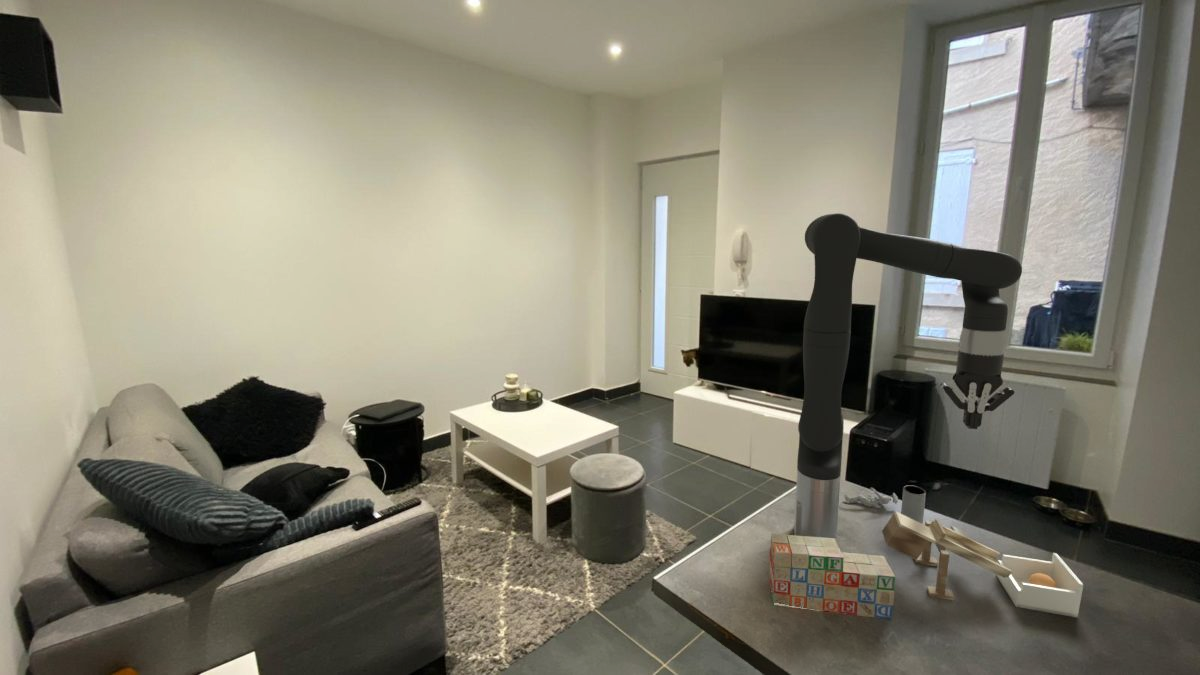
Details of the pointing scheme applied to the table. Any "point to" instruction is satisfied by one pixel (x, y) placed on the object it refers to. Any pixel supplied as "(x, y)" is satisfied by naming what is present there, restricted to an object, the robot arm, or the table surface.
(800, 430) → the robot arm
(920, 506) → the planter
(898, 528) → the lever
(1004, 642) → the table surface
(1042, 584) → the ball
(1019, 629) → the table surface
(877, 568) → the stack of blocks
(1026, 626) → the table surface
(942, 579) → the lever stand
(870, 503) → the soldier figure
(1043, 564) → the white open box
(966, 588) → the table surface
